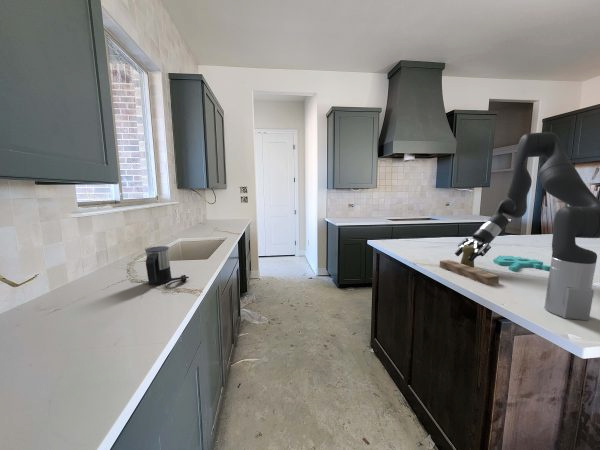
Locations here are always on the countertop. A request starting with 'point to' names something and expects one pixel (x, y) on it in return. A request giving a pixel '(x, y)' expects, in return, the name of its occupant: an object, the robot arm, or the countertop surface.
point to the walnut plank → (470, 272)
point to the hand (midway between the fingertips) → (462, 257)
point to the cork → (466, 253)
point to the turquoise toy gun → (519, 263)
